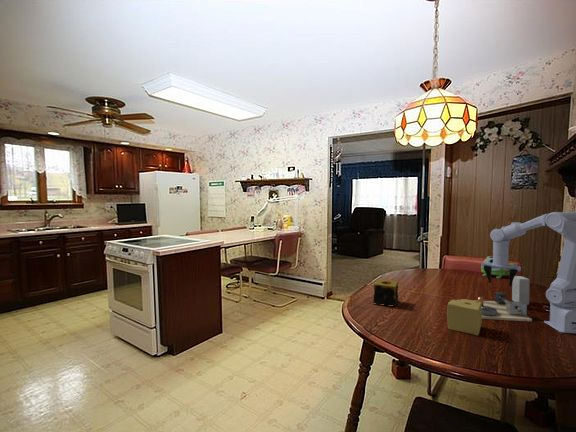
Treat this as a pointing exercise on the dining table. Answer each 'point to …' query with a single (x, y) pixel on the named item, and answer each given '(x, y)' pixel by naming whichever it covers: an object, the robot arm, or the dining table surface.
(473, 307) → the cheese
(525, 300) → the skincare box
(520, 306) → the block
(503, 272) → the turtle holder
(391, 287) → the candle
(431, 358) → the dining table surface
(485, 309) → the handwheel
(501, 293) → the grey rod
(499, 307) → the board
